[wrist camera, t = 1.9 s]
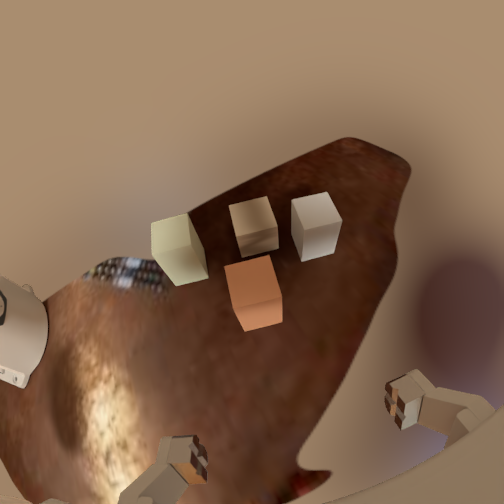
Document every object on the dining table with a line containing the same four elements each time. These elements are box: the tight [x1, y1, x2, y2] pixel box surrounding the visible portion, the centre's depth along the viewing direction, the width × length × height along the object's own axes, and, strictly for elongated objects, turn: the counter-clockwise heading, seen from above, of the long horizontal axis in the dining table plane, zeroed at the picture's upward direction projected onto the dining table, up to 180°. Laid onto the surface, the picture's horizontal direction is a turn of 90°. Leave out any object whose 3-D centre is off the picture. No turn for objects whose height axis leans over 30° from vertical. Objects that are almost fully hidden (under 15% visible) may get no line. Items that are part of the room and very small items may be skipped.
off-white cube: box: [229, 196, 279, 258], centre depth 36 cm, size 5×5×5 cm
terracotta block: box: [224, 255, 282, 331], centre depth 29 cm, size 4×4×8 cm
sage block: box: [151, 213, 209, 286], centre depth 33 cm, size 4×4×8 cm
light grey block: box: [291, 192, 342, 262], centre depth 34 cm, size 4×4×7 cm
